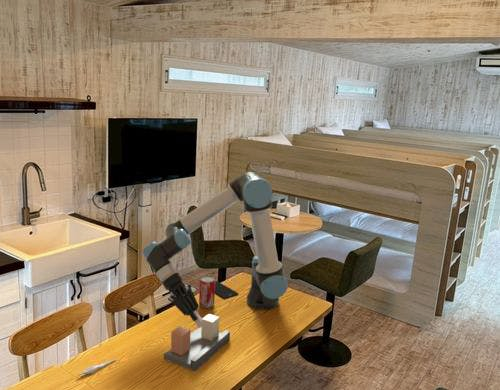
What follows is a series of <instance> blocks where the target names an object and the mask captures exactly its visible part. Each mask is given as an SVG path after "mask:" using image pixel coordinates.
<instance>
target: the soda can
mask: <svg viewBox="0 0 500 390" xmlns="http://www.w3.org/2000/svg"><path fill="white" fill-rule="evenodd" d="M215 281H216V280H215V278H214V277H213V276H209V275H206V276H202V277H201V278H200V280H199V290H198V291H199V292H198V294H199V295H198V305H199V306H200V307H202V308H203V309H208V308H209V309H210V308H212V307H213V306H214V305H215V295H216V294H215Z"/></svg>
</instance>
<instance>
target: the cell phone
mask: <svg viewBox="0 0 500 390" xmlns="http://www.w3.org/2000/svg"><path fill="white" fill-rule="evenodd" d="M214 281H215V295H217V296H218V297H220V299H221V298H222V299H223V300H228V299H230V298H234V297H236V296H238V295H239V292H237V291H235V290H234V289H231V288H230V287H228V286H226V285H225V284H223V283H221V282H219V281H217V280H214Z"/></svg>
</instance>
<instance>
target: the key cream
mask: <svg viewBox="0 0 500 390" xmlns="http://www.w3.org/2000/svg"><path fill="white" fill-rule="evenodd" d="M201 318H202V329H201V337H202V338H205V339H207V340H210V341H213V340H214V339H215V338H216V337H217V336H219V332H220V316H217V315H215V314H211V313H208V314H206V315H205V316H204V317H201Z"/></svg>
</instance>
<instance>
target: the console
mask: <svg viewBox="0 0 500 390" xmlns="http://www.w3.org/2000/svg"><path fill="white" fill-rule="evenodd" d="M201 329H202V327H200V328H199V327H197V328H196V329H195V330H193V331H192V332H190V350H188V351H187V352H186V353H185V354H183V355H179V354H177V353H174V352H171V348H169V349H168V350H167V351H166V352H164V353H163V360H166V361H168V362H170V363H172V364H175V365H178V366H181V367H183V368H185V369H188V370H191V371H193V372H196V371H198V369H200V367H202V366H203V365H204V364H205V363H207V362H208V361H209V360H210V359H211V358H212V357H213V356H215V354H216V353H217V352H218V351H220V350H221V349H222V348H223V347H224V346H225V345H226V344H227V343H229V341H230V340H231V331H229V330H227V329H225V330H224V331H223V332H220V331H219V336H217V337H216V338H215V339H214V340H213V341H210V340H207V339H205V338H202V337H201Z"/></svg>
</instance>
